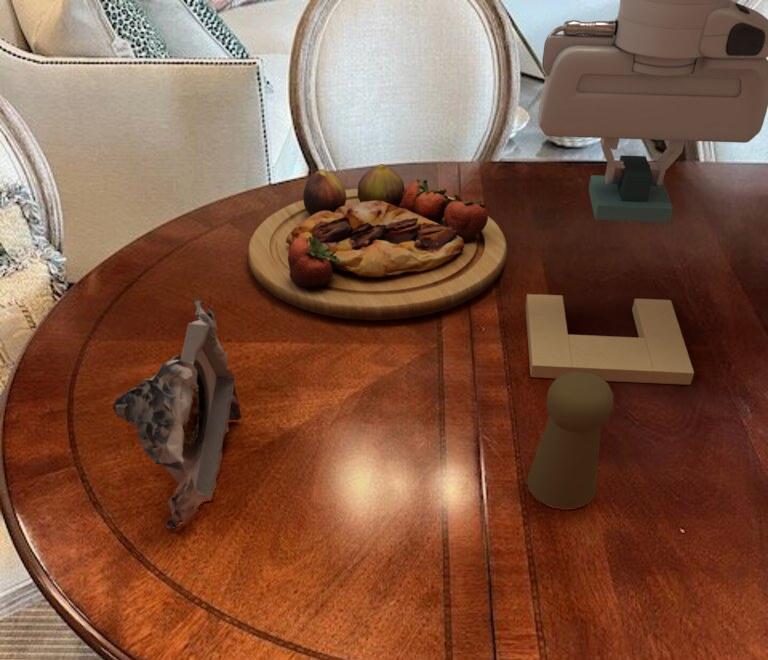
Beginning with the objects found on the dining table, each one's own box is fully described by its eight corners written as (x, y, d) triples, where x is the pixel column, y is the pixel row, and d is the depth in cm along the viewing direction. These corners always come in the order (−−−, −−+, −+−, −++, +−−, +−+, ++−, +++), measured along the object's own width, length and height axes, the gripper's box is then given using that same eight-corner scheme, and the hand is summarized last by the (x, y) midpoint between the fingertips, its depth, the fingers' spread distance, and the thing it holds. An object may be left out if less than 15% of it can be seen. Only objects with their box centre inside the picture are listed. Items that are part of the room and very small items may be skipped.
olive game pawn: (518, 499, 67) (535, 396, 60) (536, 456, 71) (554, 354, 64) (588, 518, 66) (615, 414, 58) (602, 472, 70) (629, 370, 62)
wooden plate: (352, 361, 82) (349, 289, 76) (201, 249, 100) (189, 184, 94) (560, 265, 96) (571, 199, 90) (395, 182, 114) (395, 122, 108)
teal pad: (658, 192, 81) (668, 152, 79) (669, 223, 76) (680, 182, 73) (588, 189, 82) (595, 149, 79) (594, 220, 77) (602, 179, 74)
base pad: (667, 311, 89) (671, 299, 88) (690, 385, 79) (694, 372, 78) (525, 305, 90) (527, 293, 89) (530, 377, 80) (532, 365, 79)
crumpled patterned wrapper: (200, 418, 75) (173, 297, 66) (243, 421, 75) (222, 299, 66) (150, 531, 65) (110, 406, 56) (201, 535, 65) (169, 409, 55)
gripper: (549, 29, 66) (528, 192, 76) (799, 35, 65) (744, 200, 75) (545, 10, 70) (526, 166, 80) (779, 15, 69) (730, 173, 79)
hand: (632, 183), depth 77 cm, fingers closed on teal pad, 2 cm apart
